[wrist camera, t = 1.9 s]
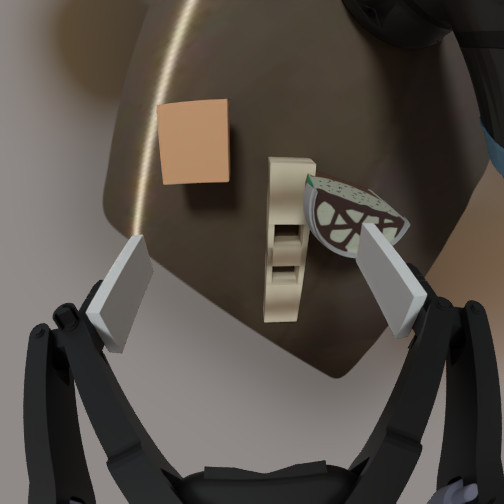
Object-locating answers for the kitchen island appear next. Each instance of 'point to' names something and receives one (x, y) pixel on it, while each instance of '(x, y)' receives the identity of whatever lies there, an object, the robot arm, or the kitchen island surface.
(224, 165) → the tan toy stool
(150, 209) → the kitchen island surface
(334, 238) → the grey green half-round piece
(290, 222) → the rail
